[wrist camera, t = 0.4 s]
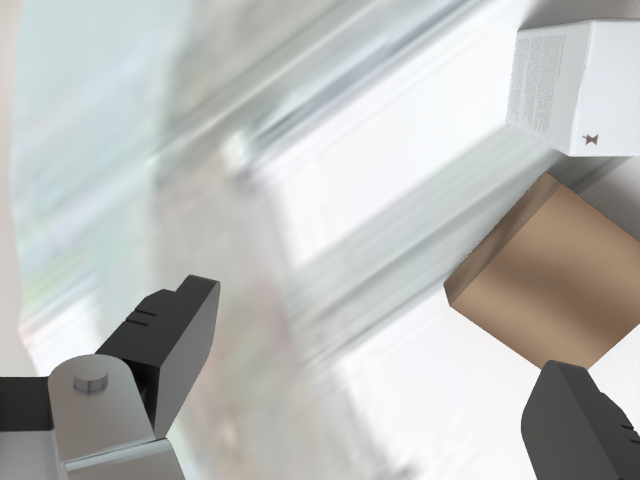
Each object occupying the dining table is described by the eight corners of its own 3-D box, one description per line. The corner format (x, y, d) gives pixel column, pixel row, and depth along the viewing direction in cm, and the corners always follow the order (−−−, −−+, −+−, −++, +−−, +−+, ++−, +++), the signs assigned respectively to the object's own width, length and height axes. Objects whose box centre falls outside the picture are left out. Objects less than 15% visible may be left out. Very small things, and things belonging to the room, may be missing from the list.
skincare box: (568, 124, 35) (661, 161, 24) (503, 123, 35) (564, 159, 24) (584, 27, 33) (695, 16, 21) (515, 27, 33) (588, 17, 22)
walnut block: (543, 169, 36) (562, 183, 33) (657, 256, 38) (688, 279, 34) (442, 282, 40) (449, 306, 36) (549, 357, 41) (567, 387, 38)
